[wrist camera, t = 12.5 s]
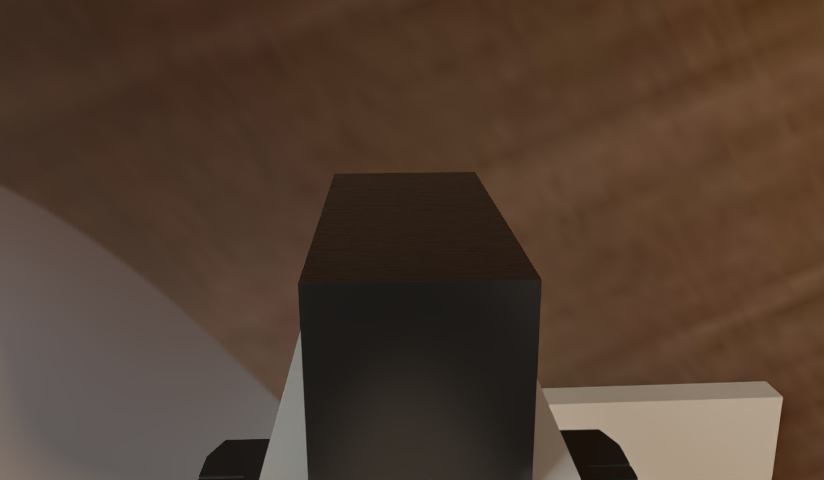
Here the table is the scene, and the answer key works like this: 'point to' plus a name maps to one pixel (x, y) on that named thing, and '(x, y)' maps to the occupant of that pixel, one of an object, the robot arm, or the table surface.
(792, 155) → the table surface
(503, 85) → the table surface
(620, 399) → the tile
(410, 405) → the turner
